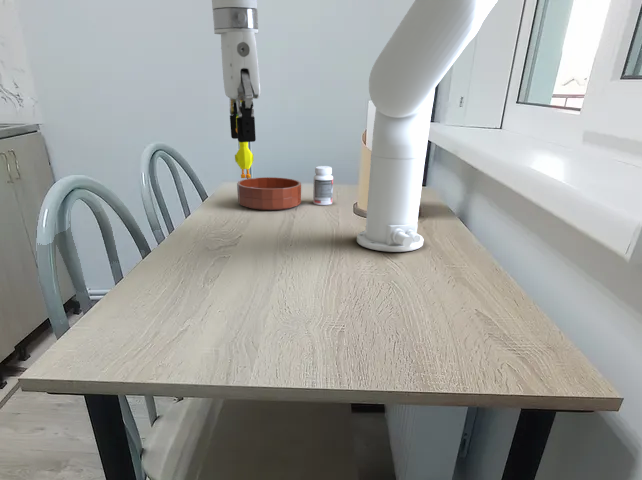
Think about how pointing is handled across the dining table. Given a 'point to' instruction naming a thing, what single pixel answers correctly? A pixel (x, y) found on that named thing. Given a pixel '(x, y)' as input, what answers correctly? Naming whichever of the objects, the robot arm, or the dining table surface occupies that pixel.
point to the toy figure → (244, 157)
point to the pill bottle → (323, 186)
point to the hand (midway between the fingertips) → (243, 138)
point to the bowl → (269, 193)
